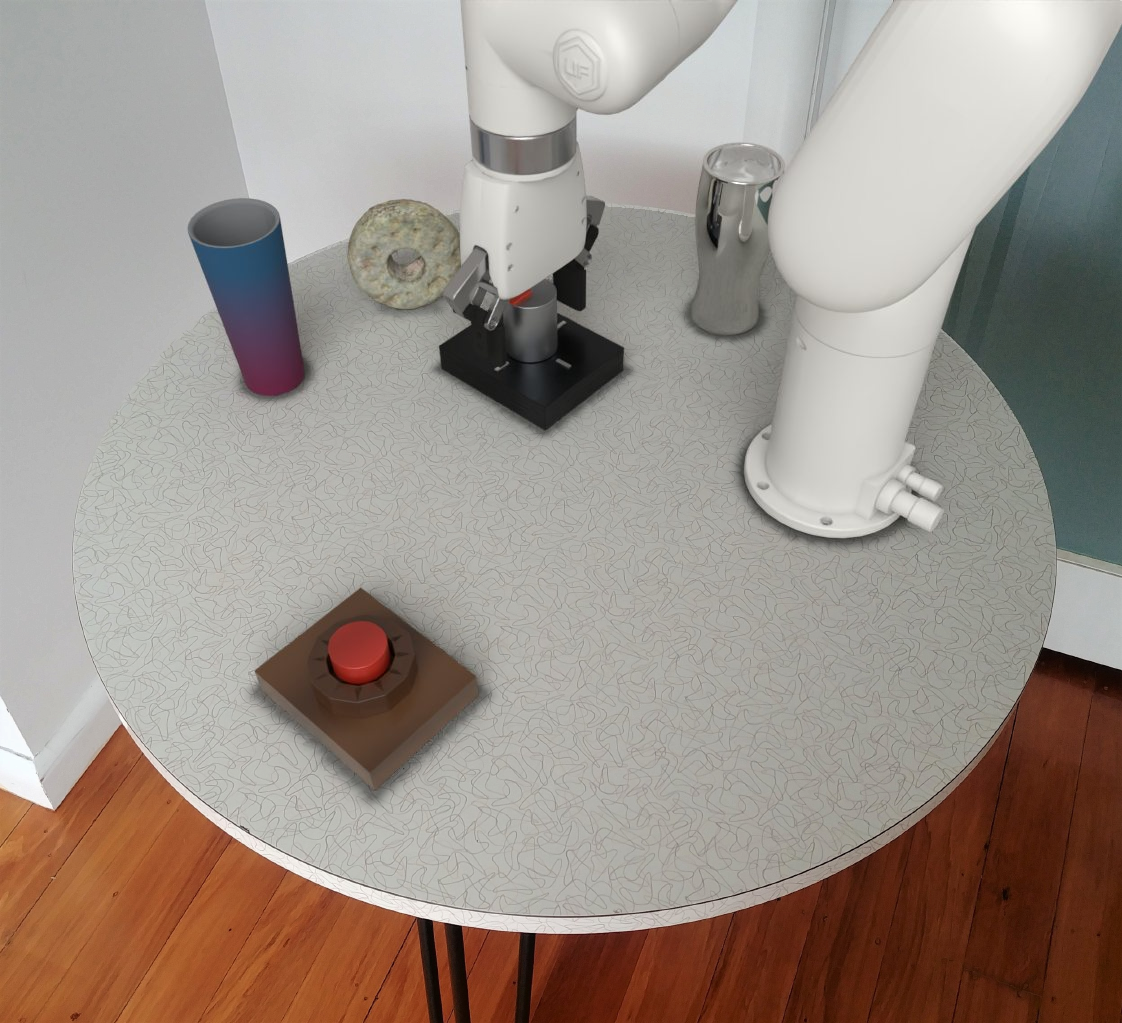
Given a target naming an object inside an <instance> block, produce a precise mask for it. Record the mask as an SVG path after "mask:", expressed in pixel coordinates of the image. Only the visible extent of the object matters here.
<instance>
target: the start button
mask: <svg viewBox="0 0 1122 1023" xmlns="http://www.w3.org/2000/svg"><path fill="white" fill-rule="evenodd" d="M328 653H329V656H330V660H331V663H332V666H333V670H334V672H335V674H336V675H337V676H338V677H339V678H340V679H341V680H343V681H345V682H347V683H350V684H366V683H370V682H372V681H374V680H376V679H378V678H379V677H380V676H382V675H383V674H384V672H385V671H386V670H387V668H388V666H389V664H390V659H391V655H390V650H389V646H388V641H387V637H386V634H385V632H384V631H383V630H382V629H381V628H380V627H379V626H378V625H376V624H374V623H371V622H367V621H356V622H351V623H348V624H346V625H344V626H342V627H341V628H339V629H338V630H337V631H336V632H335V633H334V634H333V635H332V637H331V639H330V641H329V645H328Z"/></svg>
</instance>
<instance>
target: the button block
mask: <svg viewBox="0 0 1122 1023" xmlns="http://www.w3.org/2000/svg"><path fill="white" fill-rule="evenodd" d="M356 621H367V622H371V623H374V624H376V625H378V626H379V627H380V628H381V629H382V630H383V631H384V632H385V634H386V637H387V641H388V646H389V650H390V655H391V659H390V664H389V666H388V668H387V670H386V671H385V672H384V674H383V675H382V676H380V677H379V678H378V679H376V680H374V681H372V682H370V683H366V684H350V683H347V682H345V681H343V680H341V679H340V678H339V677H338V676H337V675H336V674H335V672H334V670H333V666H332V663H331V660H330V656H329V653H328V645H329V641H330V639H331V637H332V635H333V634H334V633H335V632H336V631H337V630H338V629H339V628H341V627H342V626H344V625H346V624H348V623H351V622H356ZM254 674H255V676H256V679H257V682H258V684H259V687H260V689H261V691H262V692H263V693H264V694H266V695H267V696H268V697H269V698H270V699H271V701H272V700H273V702H274V703H275V704H277V705H278V706H279V707H280V708H281V709H283V710H284V712H286V713H287V714H288V715H289V716H290V717H291V718H292V719H294V720H295V721H296V722H297V723H298V724H299V725H301V727H302V728H303V729H305V730H306V731H307V732H308V733H309V734H310V735H311V736H313V737H314V738H315V739H316V740H317V741H318V742H319V743H320V744H322V745H323V746H324V747H325V748H326V749H327V750H328V751H329V752H331V753H332V754H333V755H334V756H335V757H336V758H337V759H338V760H340V761H341V762H342V763H343V765H345V766H346V767H347V768H349V769H350V770H351V771H352V772H353V773H354V774H356V776H357V777H358V778H360V779H361V780H362V781H363V782H364V783H366V784H367V786H369V787H370V788H371V789H372V790H374V791H376V790H377V789H379V787H381V786H382V785H383V784H384V783H385V782H386V781H387V780H388V779H389V778H390V777H391V776H392V775H393V774H395V773H396V772H397V771H398V770H399V769H400V768H401V767H402V766H403V765H405V763H407V761H409V760H410V759H411V758H412V757H413V756H414V755H415V754H416V753H418V751H420V750H421V749H422V748H423V747H424V746H425V745H426V744H428V743H429V741H430V740H432V739H433V738H434V737H435V736H436V735H437V734H438V733H439V732H440V731H441V730H443V728H445V727H446V726H447V725H448V724H449V723H450V722H451V721H452V720H454V719H455V718H456V717H457V716H458V715H459V714H460V713H461V712H462V711H463V710H464V709H466V708H467V707H468V706H469V705H470V704H471V703H472V702H473V701H474V700H475V699H477V697H479V687H478V679H477V678H478V677H477V675H476V674H474V673H473V672H472V671H471V670H469V669H467V667H465V666H464V665H462V664H461V663H460V662H458V661H457V659H455V658H454V657H452V656H451V655H449V654H448V653H447V652H446V651H444V650H443V649H442V648H440V647H439V646H438V645H437V644H435V643H434V642H433V641H431V640H430V639H429V638H427V637H426V636H424V635H423V634H422V633H421V632H420V631H418V630H417V629H416V628H414V627H413V626H412V625H411V624H409V623H408V622H407V621H406V620H404V619H402V618H401V617H400V616H399V615H397V613H395V612H393V611H392V610H391V609H390V608H388V607H387V606H386V605H384V604H383V603H382V602H381V601H379V600H378V599H377V598H376V597H374V596H373V595H371V594H370V593H369V592H367V591H366V590H365V589H364V588H362V587H360V588H358V589H357V590H355V591H354V592H353V593H351V595H349V596H348V597H347V598H345V599H343V601H342V602H340V603H339V604H337V605H336V606H335V607H334V608H332V610H330V611H329V612H327V613H326V614H324V616H322V617H321V618H320V619H318V620H317V621H316V622H315V623H313V624H312V625H311V626H310V627H308V628H307V629H305V631H303V632H302V633H301V634H299V635H298V636H297V637H295V638H294V639H293V640H292V641H290V642H289V643H288V644H287V645H285V646H284V647H282V649H280V650H279V651H277V652H276V653H275V654H274V655H273V656H271V657H270V658H268V659H267V660H266V661H265V662H263V663H262V664H261V665H260V666H258V667H257V668H256V669H255V670H254Z"/></svg>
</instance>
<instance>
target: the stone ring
mask: <svg viewBox="0 0 1122 1023" xmlns="http://www.w3.org/2000/svg"><path fill="white" fill-rule="evenodd" d="M347 244H348V245H347V254H346V255H347V256H346V257H347V263H348V266H349V270H350V272H351V276H352V278H353V280H354V282H355V284H356V285H357V287H358V288H359V289H360V290H361V291H362V292H363V293H364V294H366V295H367V296H368V297H369V298H371V299H372V300H374V301H375V302H376V303H378V304H382V305H386V306H388V307H390V308H394V309H399V310H415V309H418V308H421V307H423V306H426V305H430V304H431V303H433V302H435V301H437V300H438V299H440V298H441V297H443V296H442V293H443V290H444V288H445V287H446V286H447V284H448V283H449V282H450V280H451V279H452V278H453V276H454V275H455V274H456V272H457V271H458V270H459V269H460V267H461V255H460V231H459V230H458V229H457V227H456V226H455V224H453V222H452V221H451V220H450V219H449V218H448V217H447V216H446V215H444V213H442V211H440V210H439V209H437V208H435V207H434V206H432V205H430V204H428V202H427V203H426V202H422V201H421V200H415V199H414V200H413V199H410V198H408V199H406V198H401V199H391V200H386V201H384V202H382V203H381V202H380V203H378V204H375V205H373V206H371V207H369V208H368V210H367V211H365V212H364V213H363V214H362V216H361V217H360V218H359V219H358V220H357V221H356V223H355V225H354V227H353V228H352V231H351V232H350V236H349V239H348V243H347ZM407 249H408V250H412V251H413V252H416V253H417V254H418V255H419V256H418V257H416V258H415V259H414V260H412V261H411V262H409V263H406V264H404V263H398V262H397V261H396V260H394V258H393V256H392V255H393V254H394V253H397V252H398V251H400V250H407Z"/></svg>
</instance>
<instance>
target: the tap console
mask: <svg viewBox="0 0 1122 1023" xmlns="http://www.w3.org/2000/svg"><path fill="white" fill-rule="evenodd" d="M499 322H500V323H502V324H503V325H504V321H503V314H502V316H501V319H500V321H499ZM438 350H439V359H440V367H441V370H443V371H444V372H446V373H448V374H449V375H451V376H453V377H455V378H456V379H457V380H459V381H461V382H463V383H464V384H466V385H468V386H470V387H471V388H472V389H474V390H476V391H478V392H480V393H482V394H483V395H484V396H486V397H488V398H490V399H491V400H493V401H494V402H497V403H499V404H500V405H502V406H503V407H505V408H507V409H508V410H510V411H512V412H513V413H515V414H517V415H519V416H520V417H521V418H523V419H525V420H526V421H529V423H532V424H533V425H535V426H537V427H538V428H540V429H541V430H544V431H547V430H548V429H550V428H551V427H552V426H553V425H555V424H556V423H557V422H559V421H560V420H562V419H563V418H564V417H565V416H566V415H567V414H569V413H570V412H572V411H573V410H575V408H577V407H578V406H579V405H581V404H582V403H583V402H584V401H586V400H587V399H588V398H590V397H591V396H592V395H593V394H595V393H596V392H597V391H598V390H600V389H601V388H602V387H605V385H606V384H608V383H609V382H610V381H612V380H613V379H614V378H615V377H617V376H618V375H620V374H621V373H622V372H623V371H624V361H625V359H624V358H625V347H624V346H622V345H620V344H619V343H617V342H615V341H613V340H611V339H609V338H607V337H606V336H603V335H601V334H599V333H598V332H596V331H593V330H591V329H590V328H588V327H586V326H583V325H582V324H580V323H579V322H576V321H574V320H572V319H571V318H569V317H567V316H565V315H563V314H561V313H559V312H557V350H556V352H555V353H554V354H553V355H552V356H551V357H549V358H548V359H546V360H543V361H539V362H522V361H518V360H516V359H514V358H512V357H511V356H510V355H509V354H508V353H507V352H506V353H507V362H506V364H505V365H504V366H503V367H501V368H499V367H497V366H496V365H494V364H492V363H490V362H489V361H487V360H485V359H483V358H481V357H480V356H478V355H477V354H476V353H475V352H474V350H473V340H472V329H471V324H470V325H468V326H466V327H465V328H463V329H461V331H459V332H458V333H456V334H454V335H453V336H451V337H450V338H448V339H447V340H445V341H444V342H442V343H441V344H439V345H438Z"/></svg>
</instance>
